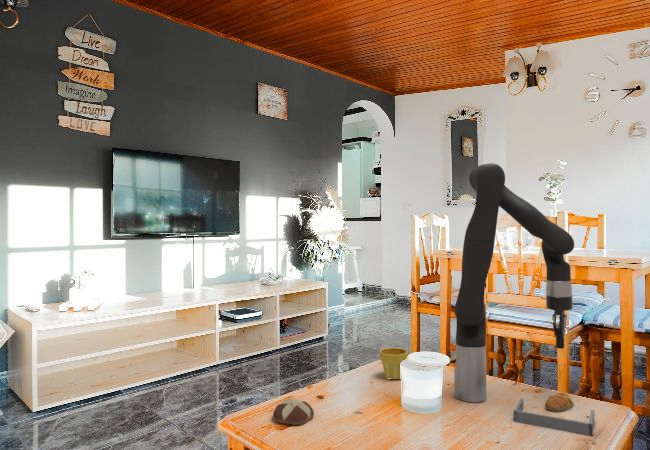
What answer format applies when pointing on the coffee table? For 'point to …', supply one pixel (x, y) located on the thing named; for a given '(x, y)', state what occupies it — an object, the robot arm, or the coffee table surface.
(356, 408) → the coffee table surface
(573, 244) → the robot arm
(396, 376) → the plant pot
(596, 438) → the coffee table surface
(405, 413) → the coffee table surface
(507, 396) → the coffee table surface
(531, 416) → the box
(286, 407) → the bread
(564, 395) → the pastry
